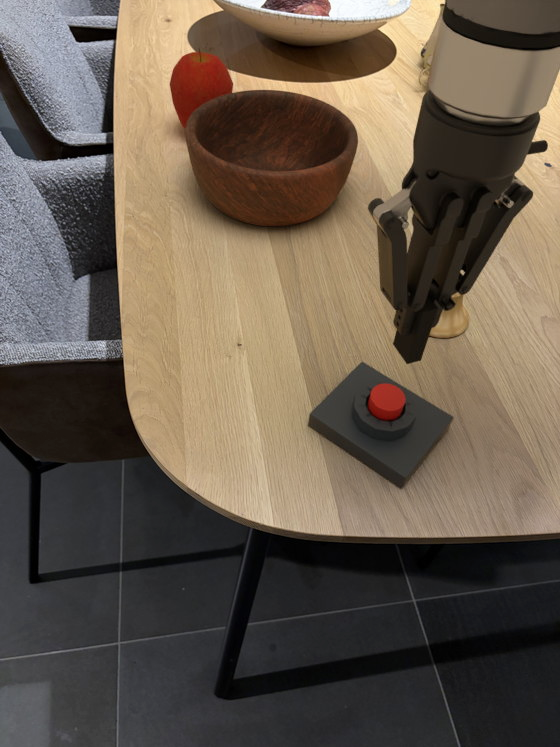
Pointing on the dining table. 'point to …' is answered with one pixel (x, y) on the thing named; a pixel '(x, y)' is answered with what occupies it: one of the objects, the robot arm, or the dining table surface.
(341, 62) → the dining table surface
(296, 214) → the wooden bowl
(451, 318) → the hand bell
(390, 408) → the button
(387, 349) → the dining table surface
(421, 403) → the push button switch
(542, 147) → the lever
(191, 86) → the apple
